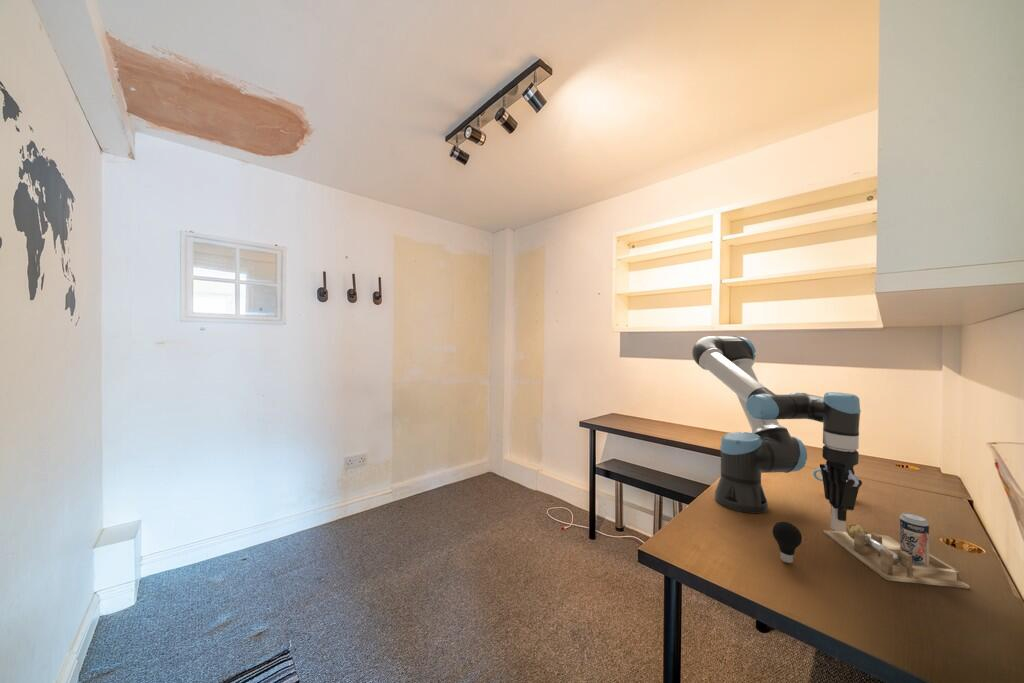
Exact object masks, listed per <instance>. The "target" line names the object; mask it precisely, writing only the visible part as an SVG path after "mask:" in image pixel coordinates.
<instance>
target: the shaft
mask: <svg viewBox="0 0 1024 683" xmlns="http://www.w3.org/2000/svg"><path fill="white" fill-rule="evenodd" d="M854 531H857V532H860V533H861V534H863V535H864V536H865V543H866V544H868V545H869V546H871V547H872V548H873V549H875V550H876V551H878V552H879V553H881V549H886V550H887V551H889V552H890V553H892V554H893V562H894V563H899V562H900V561H901V557H900V556H899V555H897V554H896V553H894V552H893V551H891V550H890V549H888V548H887V547H885V546H883V545H882V544H880V543H879V542H877V541H876V540H874V539H873V538H871V537H870V536H868V535H867V534H868V532H867V530H866V529H865V528H864V527H863V526H862V525H859V524H857V523H856V524H851V525H848V527H847V529H846V532H847V533H848V535H849V536H850V537H851V538H852V539H854Z"/></svg>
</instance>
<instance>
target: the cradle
mask: <svg viewBox="0 0 1024 683" xmlns="http://www.w3.org/2000/svg"><path fill="white" fill-rule="evenodd" d="M822 533H823V534H824V535H826V536H827V537H828V538H830V539H831V540H833V541H834V542H835V543H837V544H838V545H839V546H840V547H842V548H843V549H845V550H846V551H847V552H848V553H849V554H851V555H853V556H854V557H855V558H856V559H858V560H859V561H860V562H862V563H863V564H864V565H866V566H867V567H869V569H871V570H872V571H873V572H875V573H876V574H877V575H879V576H880V577H881V578H883V579H884V580H886V581H891V582H901V583H910V584H911V583H913V584H921V585H922V584H923V585H931V586H940V587H941V586H942V587H950V588H960V589H970V585H969V584H967V583H965V582H964V581H963V572H962V571H960V570H958V569H957V568H955V567H953V566H952V565H950V564H948V563H947V562H945V561H943V560H942V559H939V558H938V557H937V556H935V555H934V554H931V553H930V552H929V567H922V566H912V556H911V555H910V554H908V553H906V552H905V551H900V542H898V541H897V540H895V539H894V538H892V537H891V536H888V535H884V534H878V533H877V532H870V533H867V535H868V536H870V537H871V538H873V539H874V540H876V541H877V542H879V543H880V544H882V545H883V546H885V547H887V548H888V549H890V550H891V551H893V552H894V553H896V554H897V555H899V556H900V557H901V561H900V562H899V563H894V562H893V554H892V553H890V552H889V551H887V550H886V549H881V553H879V552H878V551H876V550H875V549H873V548H872V547H871V546H869V545H868V544H866V543H865V536H864V535H863V534H861V533H860V532H857V531H854V539H852V538H851V537H850V536H849V535H848V533H847V531H836V530H829V529H828V530H826V529H825V530H824V529H823V530H822Z"/></svg>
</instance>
